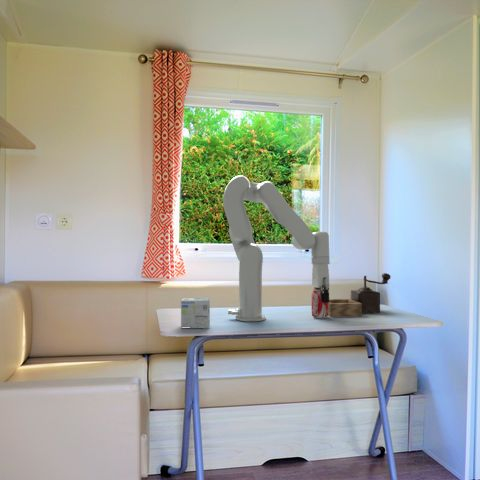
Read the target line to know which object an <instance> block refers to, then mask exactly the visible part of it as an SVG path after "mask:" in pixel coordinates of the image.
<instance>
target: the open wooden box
mask: <svg viewBox="0 0 480 480" xmlns="http://www.w3.org/2000/svg"><path fill="white" fill-rule="evenodd" d="M340 316H346V317H362V316H363V313H362V303H359V302H356V301H354V300H351V298H336V299H335V298H333V299H332V298H331V299H330V298H329V302H328V317H330V318H335V317H336V318H341V317H340Z"/></svg>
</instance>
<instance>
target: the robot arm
mask: <svg viewBox="0 0 480 480" xmlns="http://www.w3.org/2000/svg"><path fill="white" fill-rule="evenodd" d="M244 201H247V202H253V203H258V204H262V205H263V206H264V207H265V208H266V211H268V213H269V214H270V216H271V217H272V218H273V219H274V220H275V222H276V223H277V224H279V225H281V226H283V228H285V230H287V231H288V232H289V234H290V235H291V236H292V238H291V243H292V246H293V247H294V248H295V249H297V250H301V251H302V250H303V251H305V250H306V251H307V250H310V252H311V265H312V269H311V270H312V273H311V274H312V275H311V286H313V289H321V290H322V293H321V302H322V303H328V302H329V299H330V270H329V265H330V263H331V261H330V238H329V237H330V236H329V233H328V232H327V231H316V232H315V231H314V232H312V230H311V229H310V228H309V226H308V225H307V223H306V221H304V220H303V219H302V217H300V215H299V214H298V213H296V211H295V210H294V209H292V208H293V207H291V206H290V204H289V203H288V202H287V201H286V199H285V197H284V196H283V195H282V194H281V192H280V191H279V189H278V188H277V187H276V186H275V184H274V183H273V182H271V181H262V182H261V183H258V182H253V181H250V180H249V179H248V178H247V177H246V176H244V175H237V176H234V177H233V178H232V179H231V180H230V181H229V182H228V183H227V185H226V187H225V189H224V192H223V196H222V205H223V209H224V213H225V217H226V220H227V223H228V226H229V227H228V228H229V229H228V235H229V238H230V242H231V243H232V246H233V250H234V251H235V255H236V258H237V260H238V261H239V264H238V265H239V268H238V270H239V272H238V287H239V289H238V291H239V292H238V293H239V294H238V298H239V299H238V301H239V302H238V303H239V304H238V305H239V306H237V308H236V309H227V314H228V315H233V316H234V315H235V320H236V321H239V322H240V321H241V322H250V323H251V322H253V323H254V322H261V321H265V320H266V315H264V314H262V313H263V312H262V311H263V303H262V302H263V297H262V296H263V281H262V279H263V277H262V276H263V263H264V262H263V261H264V260H263V259H264V257H263V256H264V255H263V251H262V249H261V248H260V246H259V245H257V244H256V242H255V240H254V237H253V232H254V230H253V226H252V223H251V221H250V218H249V216H248V214H247V210H246V207H245V202H244Z"/></svg>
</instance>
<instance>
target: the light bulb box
mask: <svg viewBox="0 0 480 480" xmlns="http://www.w3.org/2000/svg"><path fill="white" fill-rule="evenodd" d="M210 309H211V307H210V297H202V298H201V297H200V298H199V297H196V298H194V297H193V298H191V297H190V298H188V297H187V298H184V297H183V298H182V299H181V300H180V328H181V327H190V328H203V329H209V328H210V324H211V323H210V321H211V318H210V317H211V316H210V315H211V314H210V313H211V312H210V311H211V310H210Z"/></svg>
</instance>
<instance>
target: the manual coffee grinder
mask: <svg viewBox="0 0 480 480" xmlns="http://www.w3.org/2000/svg"><path fill="white" fill-rule="evenodd" d="M381 278H382V281H381V282H379V281H374V280H368V279H367V276H366V275H364V276H363V287H360V288H358V289H355V290H354V289H353V290H350V299H351V300H354V301H356V302H359V303H362V314H380V313H381V292H380V291H377V290H373V288H370V287H368V286H367V282H368V283H374V284H378V285H386V284H389V283H388V282H389V280H390V279H391V275H390V274H389V273H385V272H384V273H382V274H381Z"/></svg>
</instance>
